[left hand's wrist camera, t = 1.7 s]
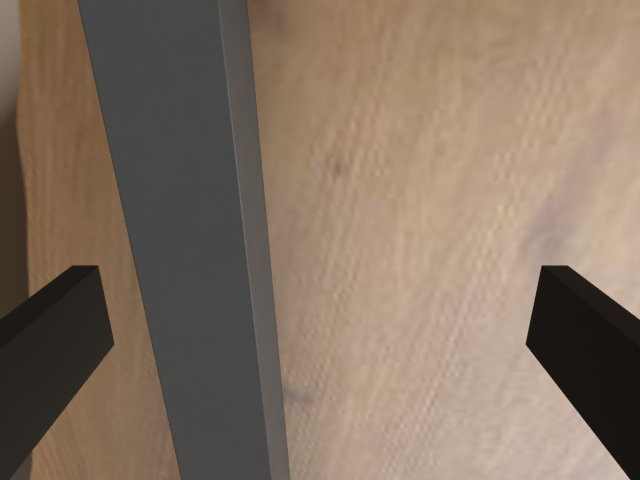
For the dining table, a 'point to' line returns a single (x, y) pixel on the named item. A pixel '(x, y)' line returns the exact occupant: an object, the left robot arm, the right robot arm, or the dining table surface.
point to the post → (196, 222)
